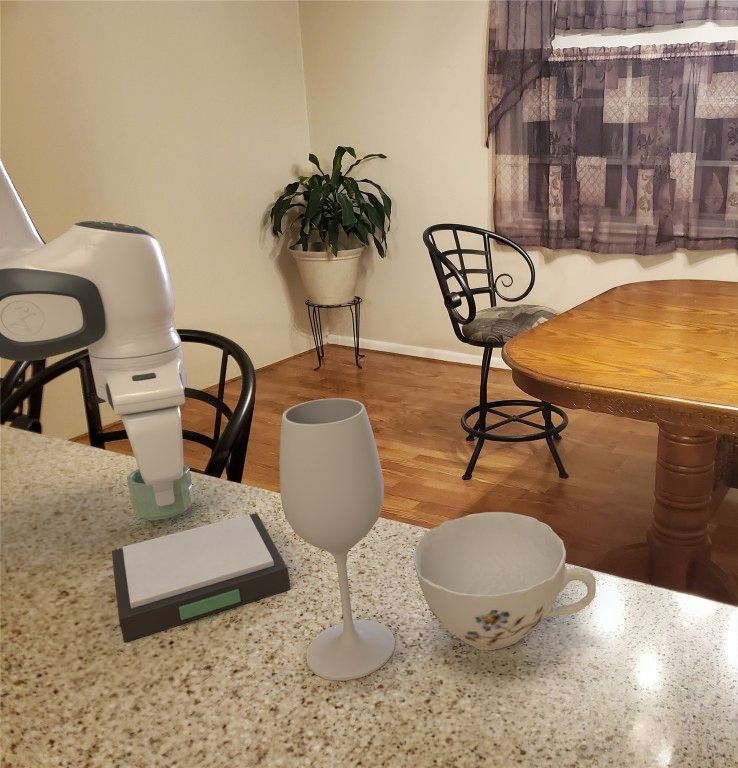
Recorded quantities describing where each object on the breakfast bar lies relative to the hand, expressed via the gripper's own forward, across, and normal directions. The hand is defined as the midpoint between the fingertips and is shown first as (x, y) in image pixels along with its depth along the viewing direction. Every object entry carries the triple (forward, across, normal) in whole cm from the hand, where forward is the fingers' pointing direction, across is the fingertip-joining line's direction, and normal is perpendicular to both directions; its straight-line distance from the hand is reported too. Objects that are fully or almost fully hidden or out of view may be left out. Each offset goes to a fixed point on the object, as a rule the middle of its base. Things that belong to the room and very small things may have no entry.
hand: (161, 489), depth 79 cm
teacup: (+3, +39, +22) cm, 45 cm away
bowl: (+2, 0, 0) cm, 2 cm away
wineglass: (+3, +34, +10) cm, 36 cm away
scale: (+3, +16, +1) cm, 17 cm away
